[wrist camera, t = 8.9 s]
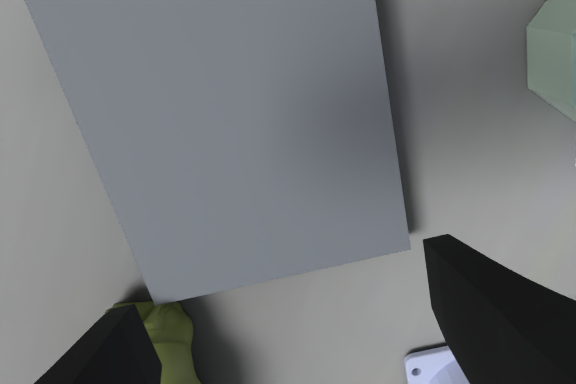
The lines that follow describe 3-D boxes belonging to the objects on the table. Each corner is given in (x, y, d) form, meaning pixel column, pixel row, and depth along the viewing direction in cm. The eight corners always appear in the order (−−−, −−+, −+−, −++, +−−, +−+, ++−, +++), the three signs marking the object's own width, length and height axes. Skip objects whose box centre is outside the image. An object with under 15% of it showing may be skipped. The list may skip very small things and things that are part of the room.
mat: (403, 236, 22) (410, 249, 21) (160, 290, 23) (154, 305, 22) (354, -100, 17) (360, -106, 16) (32, -17, 17) (17, -17, 16)
